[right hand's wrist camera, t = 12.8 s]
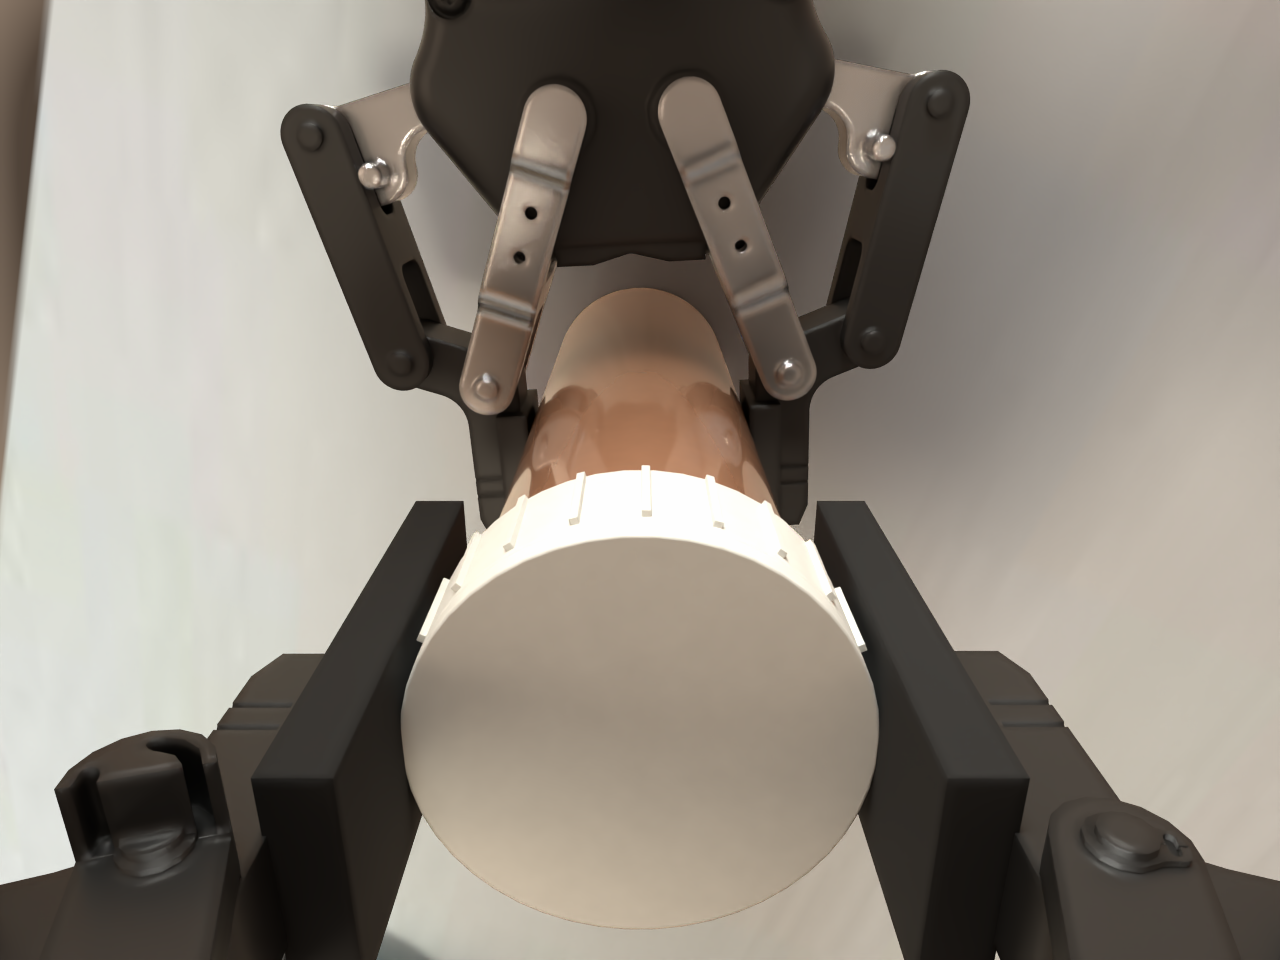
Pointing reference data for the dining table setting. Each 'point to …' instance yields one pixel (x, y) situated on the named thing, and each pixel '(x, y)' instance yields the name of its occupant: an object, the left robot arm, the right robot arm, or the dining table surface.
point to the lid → (640, 703)
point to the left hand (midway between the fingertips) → (646, 538)
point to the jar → (640, 401)
